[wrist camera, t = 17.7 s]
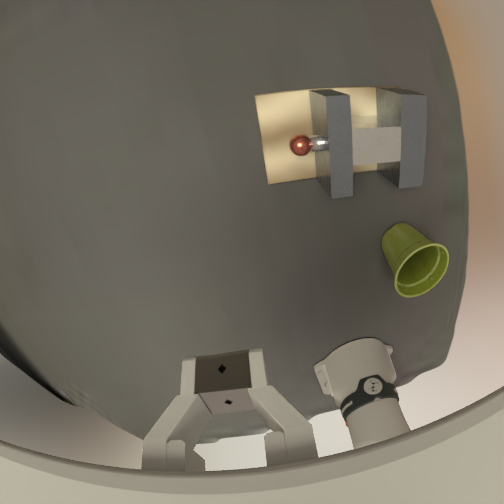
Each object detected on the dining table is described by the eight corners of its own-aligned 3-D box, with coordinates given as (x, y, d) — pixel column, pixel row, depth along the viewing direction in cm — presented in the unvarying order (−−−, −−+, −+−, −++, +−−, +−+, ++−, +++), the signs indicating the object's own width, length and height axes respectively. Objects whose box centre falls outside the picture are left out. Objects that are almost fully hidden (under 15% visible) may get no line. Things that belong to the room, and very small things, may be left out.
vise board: (398, 164, 37) (402, 167, 36) (267, 181, 37) (268, 184, 37) (399, 86, 31) (402, 87, 30) (254, 95, 31) (255, 96, 30)
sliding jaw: (335, 175, 36) (352, 195, 31) (288, 182, 36) (299, 203, 31) (329, 88, 30) (349, 95, 25) (277, 93, 30) (288, 99, 25)
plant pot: (377, 212, 41) (405, 246, 34) (427, 212, 42) (457, 242, 35) (366, 263, 47) (387, 301, 40) (412, 259, 47) (436, 293, 40)
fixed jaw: (399, 167, 36) (422, 185, 31) (377, 169, 36) (398, 188, 32) (399, 87, 30) (426, 95, 25) (375, 87, 30) (400, 94, 25)
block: (377, 145, 34) (400, 161, 30) (333, 149, 35) (351, 165, 30) (376, 115, 32) (401, 126, 27) (331, 117, 32) (350, 129, 27)
